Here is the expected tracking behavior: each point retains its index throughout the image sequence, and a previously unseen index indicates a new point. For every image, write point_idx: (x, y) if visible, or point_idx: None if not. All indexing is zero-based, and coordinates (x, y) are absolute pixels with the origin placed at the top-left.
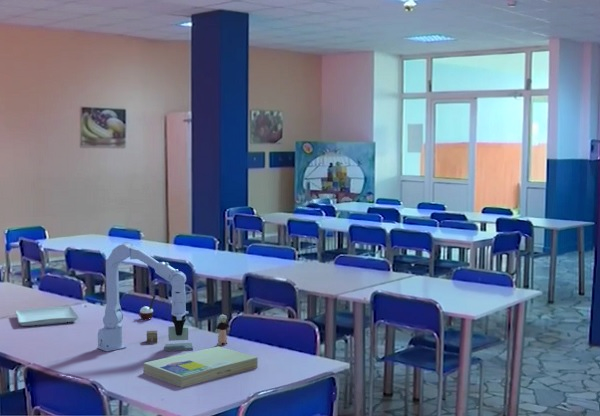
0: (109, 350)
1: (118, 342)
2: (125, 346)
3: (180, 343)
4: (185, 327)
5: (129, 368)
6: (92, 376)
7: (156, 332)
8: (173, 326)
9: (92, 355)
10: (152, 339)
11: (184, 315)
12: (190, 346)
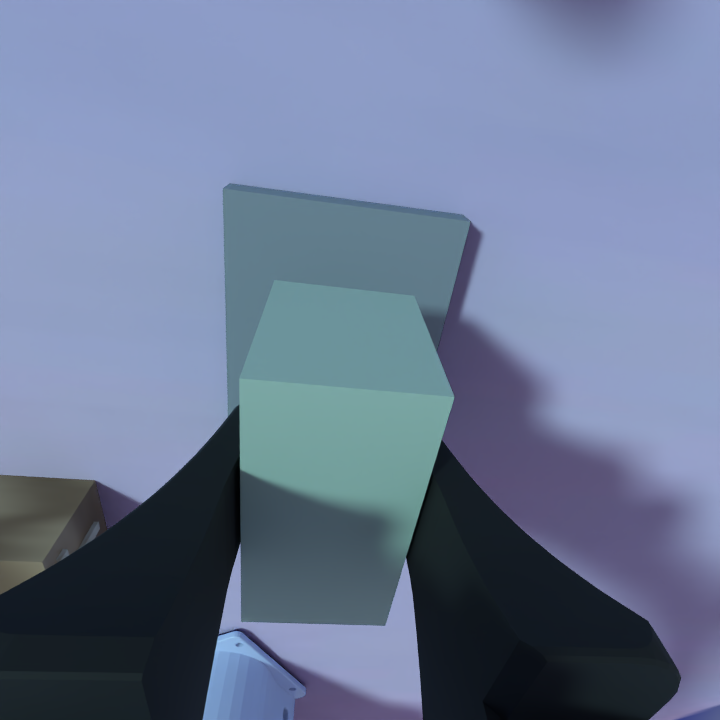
0: (299, 683)
1: (256, 702)
2: (234, 640)
3: (235, 326)
4: (392, 435)
5: (689, 620)
6: (698, 704)
7: (22, 565)
8: (249, 576)
9: (358, 715)
10: (90, 535)
11: (109, 695)
12: (409, 239)
